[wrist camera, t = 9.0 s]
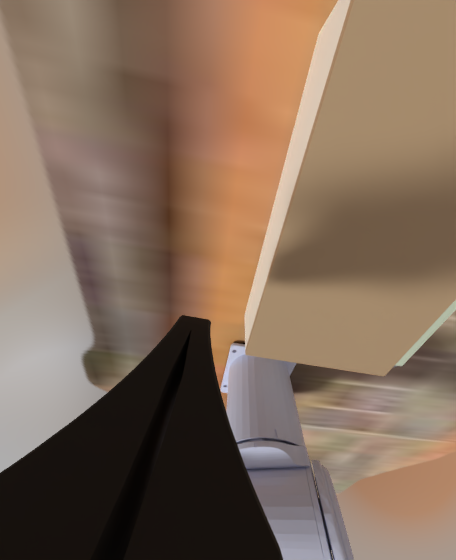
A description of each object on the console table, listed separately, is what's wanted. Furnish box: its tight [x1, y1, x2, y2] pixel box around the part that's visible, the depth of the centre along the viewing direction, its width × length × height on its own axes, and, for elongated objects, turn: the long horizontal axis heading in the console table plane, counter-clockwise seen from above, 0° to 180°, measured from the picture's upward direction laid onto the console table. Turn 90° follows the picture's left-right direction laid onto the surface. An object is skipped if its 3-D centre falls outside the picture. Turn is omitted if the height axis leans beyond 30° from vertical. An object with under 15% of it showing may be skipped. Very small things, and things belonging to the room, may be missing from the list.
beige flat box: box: [245, 0, 456, 376], centre depth 14 cm, size 20×12×5 cm, turn 171°
